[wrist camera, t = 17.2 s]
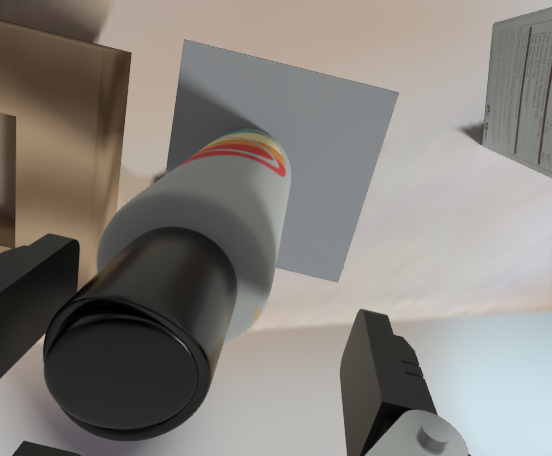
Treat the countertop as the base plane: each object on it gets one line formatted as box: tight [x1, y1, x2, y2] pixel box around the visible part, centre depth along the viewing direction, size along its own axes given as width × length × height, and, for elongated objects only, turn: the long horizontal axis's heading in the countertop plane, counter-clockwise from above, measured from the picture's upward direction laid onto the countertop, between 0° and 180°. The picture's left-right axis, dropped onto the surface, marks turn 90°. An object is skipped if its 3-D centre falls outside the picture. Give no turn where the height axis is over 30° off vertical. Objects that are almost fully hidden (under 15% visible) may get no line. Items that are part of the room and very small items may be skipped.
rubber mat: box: [166, 40, 399, 282], centre depth 28 cm, size 13×13×1 cm
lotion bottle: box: [43, 129, 291, 441], centre depth 18 cm, size 6×6×20 cm
